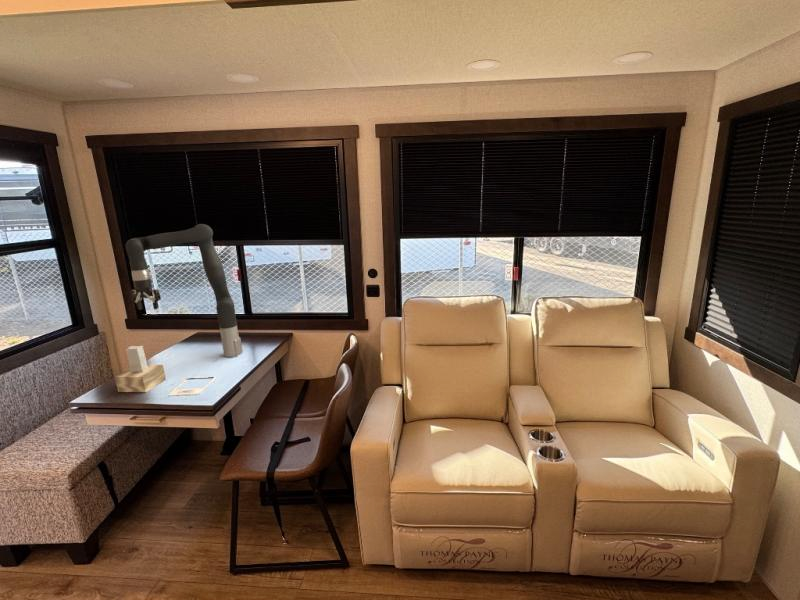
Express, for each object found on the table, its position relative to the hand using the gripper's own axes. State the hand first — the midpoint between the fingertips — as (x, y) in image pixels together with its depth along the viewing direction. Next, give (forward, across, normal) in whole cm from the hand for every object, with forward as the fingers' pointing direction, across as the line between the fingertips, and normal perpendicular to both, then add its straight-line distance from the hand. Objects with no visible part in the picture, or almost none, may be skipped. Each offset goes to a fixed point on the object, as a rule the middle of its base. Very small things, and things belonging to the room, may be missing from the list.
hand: (148, 309), depth 201 cm
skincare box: (+26, -4, +19) cm, 32 cm away
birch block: (+34, -4, +19) cm, 39 cm away
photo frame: (+34, -30, +20) cm, 50 cm away
